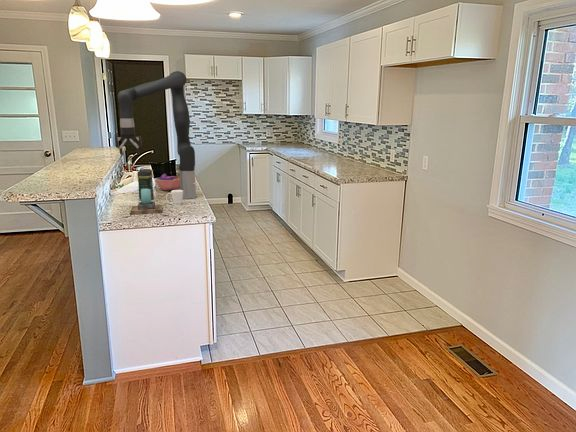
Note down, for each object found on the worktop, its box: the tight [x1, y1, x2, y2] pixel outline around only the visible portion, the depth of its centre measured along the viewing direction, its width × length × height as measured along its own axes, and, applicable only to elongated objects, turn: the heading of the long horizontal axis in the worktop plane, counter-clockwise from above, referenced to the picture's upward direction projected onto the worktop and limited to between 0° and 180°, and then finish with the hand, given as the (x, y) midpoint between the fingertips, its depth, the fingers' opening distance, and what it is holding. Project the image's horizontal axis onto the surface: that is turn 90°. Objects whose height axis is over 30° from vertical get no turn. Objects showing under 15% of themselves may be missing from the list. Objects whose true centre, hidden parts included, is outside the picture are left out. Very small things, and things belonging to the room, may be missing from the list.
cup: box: [165, 189, 183, 206], centre depth 254 cm, size 7×10×8 cm
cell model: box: [154, 173, 180, 192], centre depth 294 cm, size 17×20×11 cm
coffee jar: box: [137, 168, 155, 201], centre depth 266 cm, size 10×8×19 cm
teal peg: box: [140, 189, 152, 205], centre depth 238 cm, size 5×5×10 cm
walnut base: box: [130, 200, 163, 216], centre depth 239 cm, size 16×12×4 cm
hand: (129, 154), depth 254 cm, fingers open, 8 cm apart
